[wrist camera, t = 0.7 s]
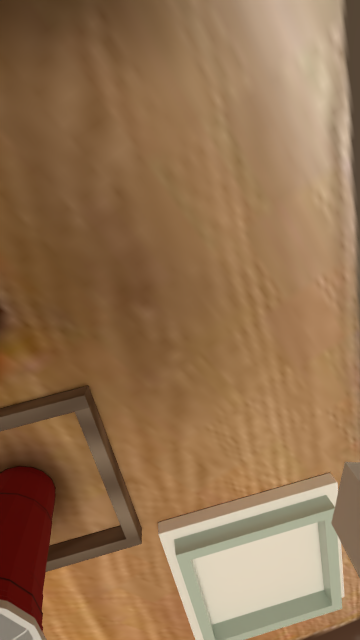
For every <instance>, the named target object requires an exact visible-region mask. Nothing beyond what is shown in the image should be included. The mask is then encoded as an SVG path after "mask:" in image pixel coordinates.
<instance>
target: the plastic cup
mask: <svg viewBox="0 0 360 640" xmlns="http://www.w3.org/2000/svg"><path fill="white" fill-rule="evenodd" d="M54 503H55V486H54V484H53V482H52V479H51V478H50V477H48V476H47V475H46V474H45V473H44V472H42V471H40V470H37V469H35V468H32V467H19V466H18V467H14V468H10V469H6V470H5V471H3V472H2V473H0V640H46V638H45V636H44V633H43V627H42V617H43V613H42V602H43V594H42V593H43V586H44V579H45V572H46V564H47V557H48V550H49V543H50V535H51V527H52V515H53V509H54Z"/></svg>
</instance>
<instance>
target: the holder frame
mask: <svg viewBox="0 0 360 640" xmlns="http://www.w3.org/2000/svg"><path fill="white" fill-rule="evenodd" d="M72 412H75V414H76V416H77V418H78V421H79V423H80V426H81V428H82V431H83V433H84V436H85V438H86V441H87V443H88V446H89V448H90V451H91V453H92V456H93V458H94V460H95V463H96V465H97V468H98V470H99V473H100V475H101V478H102V480H103V483H104V485H105V488H106V490H107V493H108V495H109V498H110V500H111V503H112V505H113V507H114V510H115V512H116V515H117V517H118V520H119V522H120V525H121V526H118V527H115V528H111V529H108V530H104V531H101V532H97V533H94V534H90V535H87V536H83V537H80V538H76V539H73V540H70V541H66V542H63V543H59V544H56V545H52V546H49V550H48V557H47V564H46V572H47V571H51V570H54V569H57V568H61V567H64V566H68V565H71V564H75V563H78V562H81V561H85V560H88V559H92V558H95V557H98V556H102V555H105V554H109V553H112V552H116V551H119V550H122V549H126V548H129V547H133V546H136V545H139V544H142V528H141V526H140V523H139V520H138V518H137V515H136V512H135V510H134V507H133V504H132V502H131V499H130V496H129V494H128V491H127V488H126V486H125V483H124V480H123V478H122V475H121V472H120V469H119V467H118V464H117V461H116V459H115V456H114V453H113V451H112V448H111V445H110V443H109V440H108V437H107V435H106V432H105V429H104V427H103V424H102V421H101V419H100V416H99V413H98V411H97V408H96V405H95V403H94V400H93V397H92V395H91V392H90V389H89V387H88V386H85V387H81V388H77V389H74V390H70V391H66V392H62V393H58V394H54V395H51V396H47V397H43V398H39V399H35V400H31V401H28V402H24V403H20V404H16V405H12V406H8V407H5V408H1V409H0V431H4V430H7V429H11V428H15V427H19V426H22V425H26V424H30V423H34V422H38V421H41V420H45V419H49V418H53V417H56V416H60V415H64V414H68V413H72Z"/></svg>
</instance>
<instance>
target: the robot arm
mask: <svg viewBox="0 0 360 640" xmlns="http://www.w3.org/2000/svg"><path fill="white" fill-rule="evenodd" d="M331 524H332V526H333V528H334V530H335V532H336V533H337V535H338V537H339V539H340V541H341V543H342V545H343V547H344V549H345V551H346V553H347V555H348V556H349V558H350V560H351V562H352V564H353V566H354V568H355V570H356V572H357V574H358V576H359V578H360V463H356V462H345V464H344V469H343V473H342V477H341V482H340V486H339V491H338V495H337V500H336V504H335V509H334V513H333V518H332V522H331Z"/></svg>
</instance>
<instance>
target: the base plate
mask: <svg viewBox="0 0 360 640" xmlns="http://www.w3.org/2000/svg"><path fill="white" fill-rule="evenodd" d="M337 495H338V485H337V481H336V480H335V479H334V477H333V476H332V475H331V473H327V474H324V475H321V476H317V477H314V478H310V479H307V480H303V481H300V482H296V483H293V484H289V485H286V486H283V487H279V488H276V489H272V490H269V491H265V492H262V493H258V494H255V495H251V496H248V497H245V498H241V499H238V500H234V501H231V502H227V503H224V504H220V505H217V506H213V507H210V508H207V509H203V510H200V511H196V512H193V513H189V514H186V515H182V516H179V517H175V518H172V519H169V520H165V521H162V522H158V532H159V537H160V540H161V543H162V545H163V548H164V551H165V554H166V557H167V560H168V563H169V565H170V568H171V571H172V574H173V577H174V580H175V583H176V585H177V588H178V591H179V594H180V597H181V600H182V603H183V605H184V608H185V611H186V614H187V617H188V620H189V623H190V625H191V628H192V631H193V634H194V637H195V640H245V639H248V638H251V637H254V636H257V635H261V634H264V633H267V632H270V631H273V630H276V629H279V628H283V627H286V626H289V625H292V624H295V623H298V622H302V621H305V620H308V619H311V618H314V617H317V616H321V615H324V614H327V613H330V612H333V611H336V610H340V609H342V597H344V583H343V567H342V550H341V541H340V539H339V537H338V535H337V533H336V532H335V530H334V528H333V526H332V524H331V522H332V518H333V513H334V509H335V504H336V500H337Z"/></svg>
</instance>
